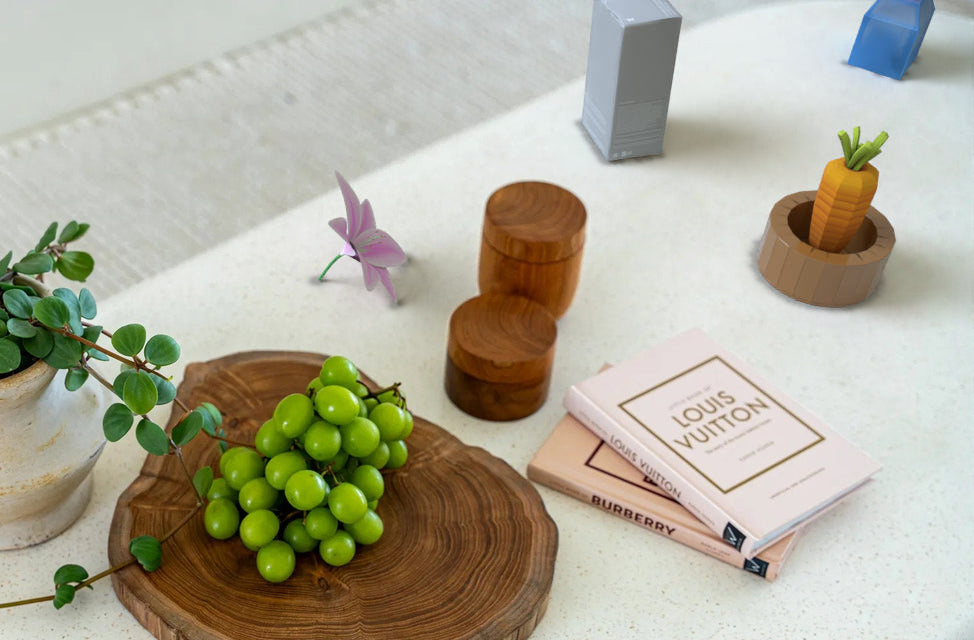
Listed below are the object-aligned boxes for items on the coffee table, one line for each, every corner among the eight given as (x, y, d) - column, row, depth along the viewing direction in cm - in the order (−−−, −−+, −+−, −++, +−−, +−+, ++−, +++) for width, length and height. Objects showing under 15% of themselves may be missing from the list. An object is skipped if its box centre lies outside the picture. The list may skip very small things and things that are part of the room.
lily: (351, 351, 103) (407, 275, 97) (253, 266, 104) (303, 186, 98) (404, 306, 113) (457, 234, 107) (314, 229, 114) (362, 154, 108)
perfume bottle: (865, 42, 139) (899, -55, 130) (916, 57, 137) (954, -40, 128) (847, 63, 136) (880, -35, 127) (899, 80, 133) (937, -19, 124)
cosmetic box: (662, 156, 122) (693, 18, 111) (598, 164, 121) (623, 25, 110) (632, 113, 128) (660, -23, 116) (572, 120, 127) (593, -16, 115)
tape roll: (871, 239, 113) (888, 198, 109) (883, 314, 105) (902, 272, 102) (755, 224, 114) (768, 183, 111) (758, 297, 107) (772, 256, 103)
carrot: (781, 265, 110) (828, 130, 99) (806, 241, 112) (855, 107, 101) (829, 289, 107) (883, 153, 96) (854, 264, 110) (909, 129, 99)
